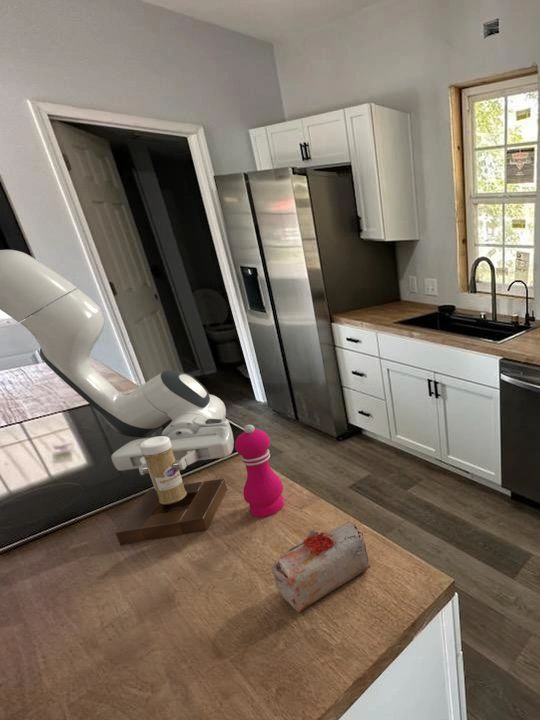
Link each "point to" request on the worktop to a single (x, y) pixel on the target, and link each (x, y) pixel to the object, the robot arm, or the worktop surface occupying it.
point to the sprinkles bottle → (163, 469)
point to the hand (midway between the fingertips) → (161, 469)
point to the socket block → (173, 513)
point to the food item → (320, 565)
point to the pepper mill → (259, 473)
